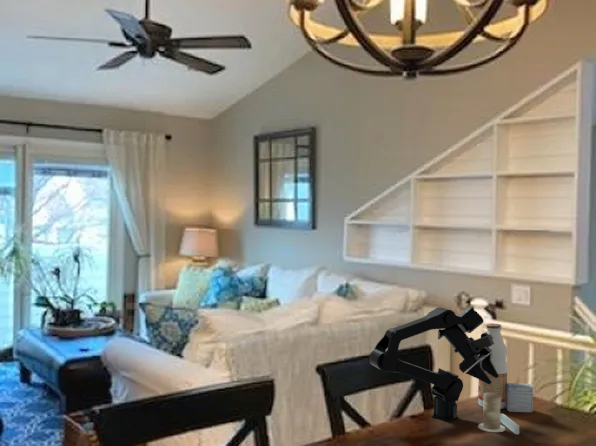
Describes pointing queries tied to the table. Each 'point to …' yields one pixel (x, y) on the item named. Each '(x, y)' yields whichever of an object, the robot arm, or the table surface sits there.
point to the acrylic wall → (509, 424)
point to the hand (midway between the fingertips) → (494, 380)
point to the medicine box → (519, 397)
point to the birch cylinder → (491, 411)
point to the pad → (490, 429)
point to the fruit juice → (500, 365)
